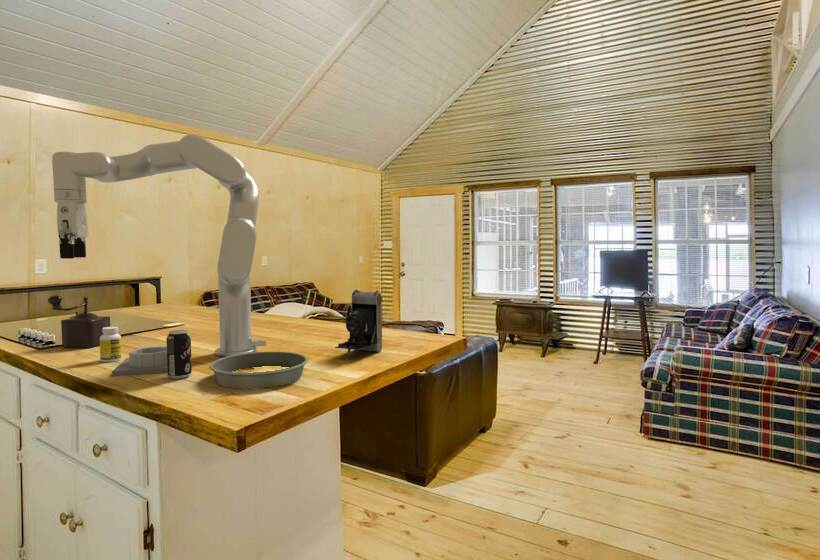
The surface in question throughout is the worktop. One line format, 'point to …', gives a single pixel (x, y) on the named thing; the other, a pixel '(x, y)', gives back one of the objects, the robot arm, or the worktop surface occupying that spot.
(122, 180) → the robot arm
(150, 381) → the worktop surface
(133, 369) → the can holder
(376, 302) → the vintage camera
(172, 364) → the beverage can
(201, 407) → the worktop surface
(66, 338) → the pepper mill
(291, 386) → the worktop surface
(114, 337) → the supplement bottle
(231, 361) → the cake pan
